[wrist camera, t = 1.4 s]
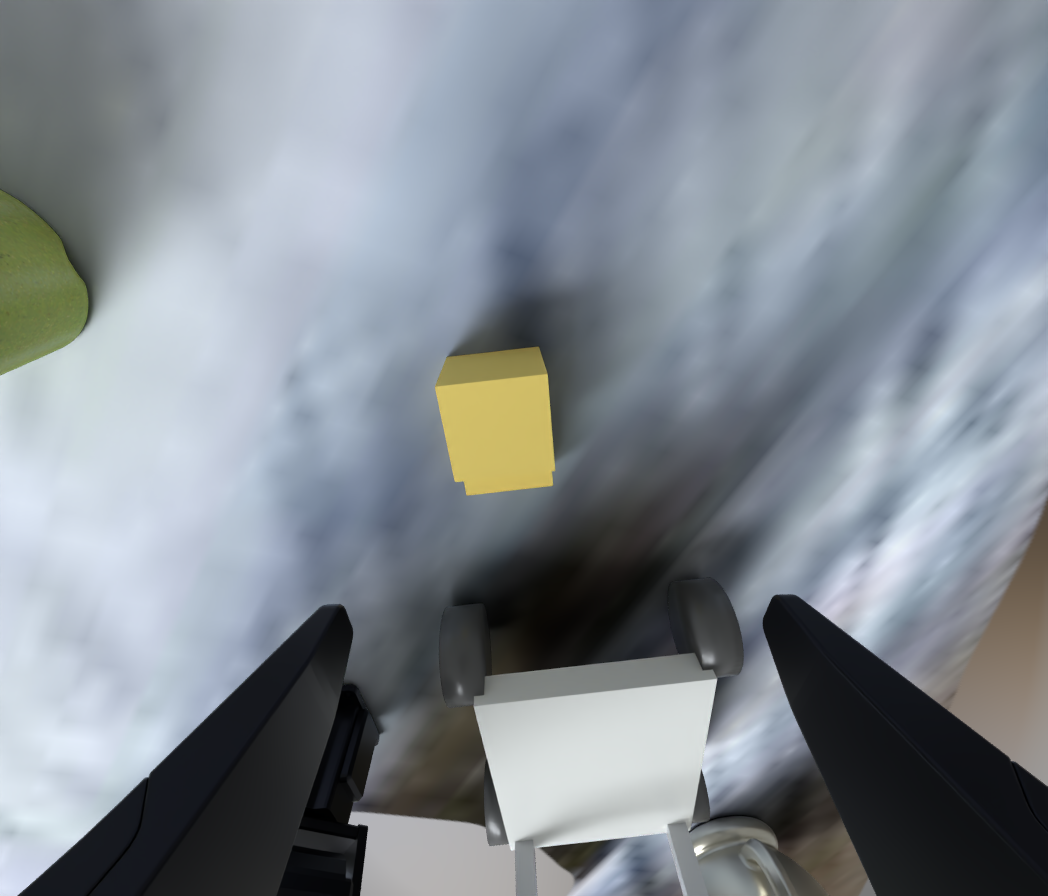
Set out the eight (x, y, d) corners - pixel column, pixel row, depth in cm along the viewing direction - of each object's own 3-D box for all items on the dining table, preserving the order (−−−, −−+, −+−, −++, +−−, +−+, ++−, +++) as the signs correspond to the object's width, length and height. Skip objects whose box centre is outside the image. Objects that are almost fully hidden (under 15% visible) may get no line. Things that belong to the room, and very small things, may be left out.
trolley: (678, 756, 34) (782, 1060, 22) (494, 777, 34) (491, 1093, 22) (704, 558, 25) (917, 903, 12) (446, 587, 25) (391, 962, 12)
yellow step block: (469, 473, 21) (463, 522, 18) (447, 356, 19) (434, 386, 15) (548, 464, 21) (558, 511, 18) (538, 345, 19) (547, 374, 15)
